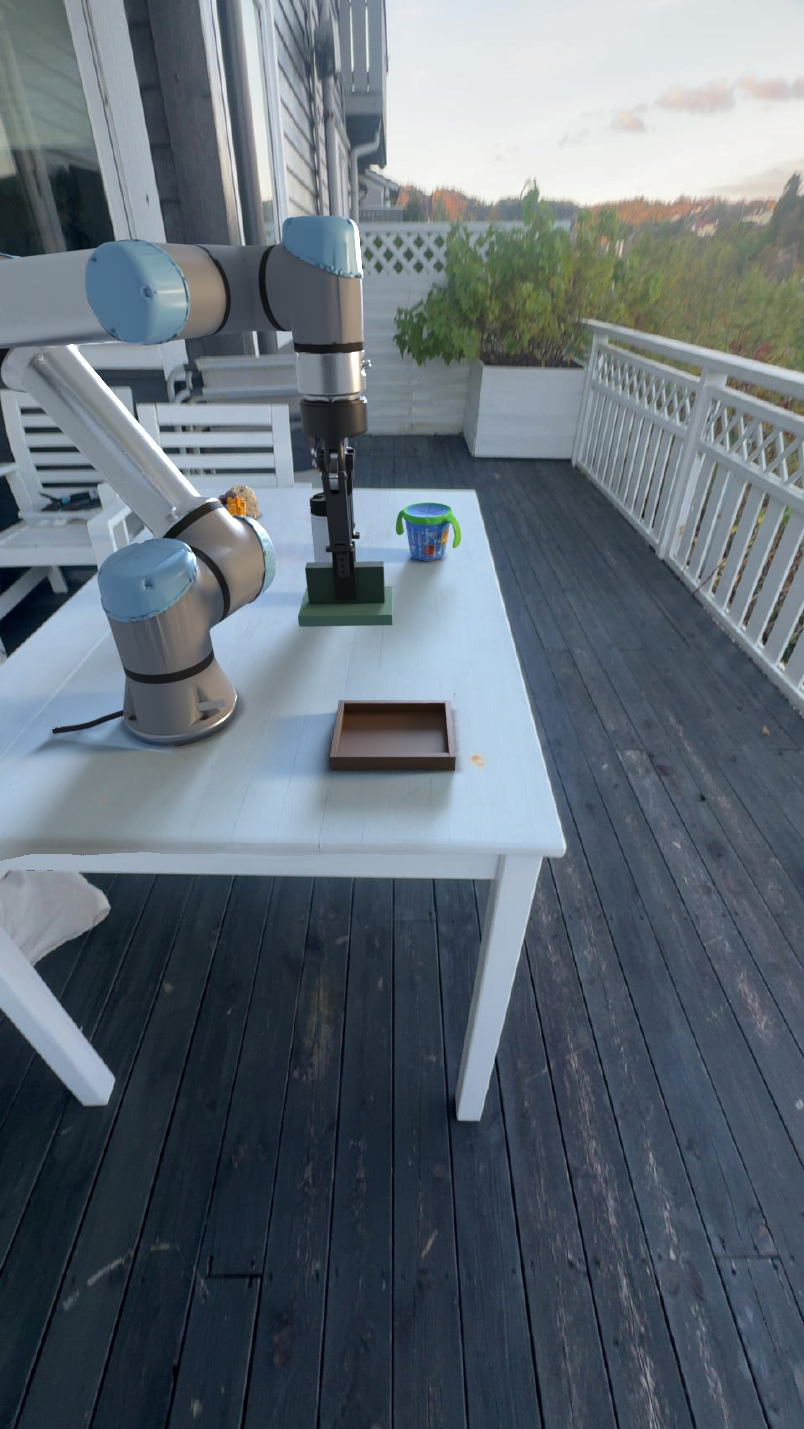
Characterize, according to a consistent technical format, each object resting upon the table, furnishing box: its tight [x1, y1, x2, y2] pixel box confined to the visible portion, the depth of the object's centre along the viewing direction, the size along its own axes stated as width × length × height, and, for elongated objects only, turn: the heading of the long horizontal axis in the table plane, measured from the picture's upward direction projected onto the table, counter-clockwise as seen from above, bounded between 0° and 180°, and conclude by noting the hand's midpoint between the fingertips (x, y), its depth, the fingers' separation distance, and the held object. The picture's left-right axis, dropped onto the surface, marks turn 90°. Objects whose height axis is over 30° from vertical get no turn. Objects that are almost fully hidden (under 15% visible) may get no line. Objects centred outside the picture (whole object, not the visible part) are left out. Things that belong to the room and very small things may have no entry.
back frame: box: [329, 699, 457, 771], centre depth 83 cm, size 16×13×2 cm
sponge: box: [223, 485, 260, 520], centre depth 159 cm, size 9×10×10 cm
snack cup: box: [395, 502, 462, 562], centre depth 134 cm, size 16×10×10 cm
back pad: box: [297, 560, 394, 628], centre depth 82 cm, size 12×9×6 cm
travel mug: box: [309, 491, 332, 562], centre depth 114 cm, size 6×7×20 cm
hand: (346, 593), depth 82 cm, fingers closed on back pad, 2 cm apart
